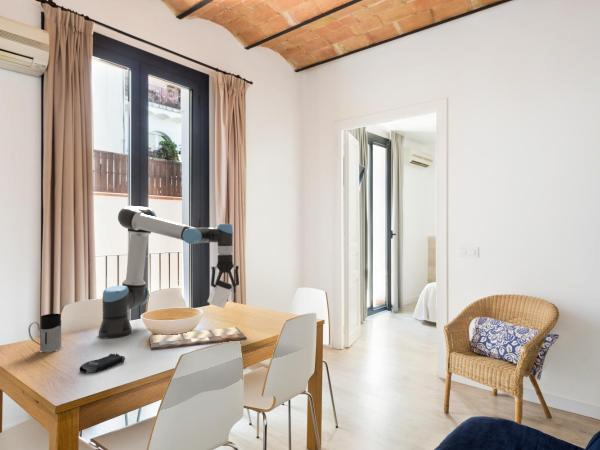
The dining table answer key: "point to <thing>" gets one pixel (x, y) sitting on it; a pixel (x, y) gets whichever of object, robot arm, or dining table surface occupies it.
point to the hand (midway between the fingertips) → (225, 299)
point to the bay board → (196, 338)
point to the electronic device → (102, 363)
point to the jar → (220, 294)
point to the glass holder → (49, 332)
